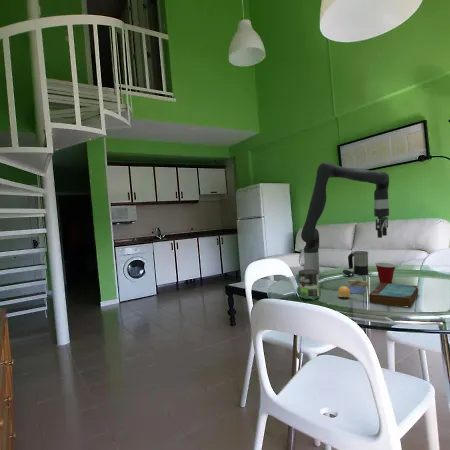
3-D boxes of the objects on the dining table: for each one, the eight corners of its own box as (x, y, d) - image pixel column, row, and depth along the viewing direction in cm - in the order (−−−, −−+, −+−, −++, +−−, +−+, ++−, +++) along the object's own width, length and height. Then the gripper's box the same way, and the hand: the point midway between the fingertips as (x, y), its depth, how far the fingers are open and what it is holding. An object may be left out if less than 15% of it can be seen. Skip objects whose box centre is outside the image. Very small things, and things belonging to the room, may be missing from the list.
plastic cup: (399, 286, 180) (398, 265, 180) (378, 287, 183) (377, 266, 182) (393, 281, 191) (392, 261, 190) (373, 282, 193) (373, 262, 192)
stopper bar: (348, 284, 192) (348, 280, 191) (349, 283, 193) (349, 279, 193) (366, 286, 186) (366, 282, 186) (367, 285, 187) (366, 281, 187)
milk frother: (371, 273, 214) (370, 251, 213) (363, 278, 202) (362, 255, 201) (349, 271, 223) (348, 250, 222) (340, 276, 212) (339, 254, 210)
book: (381, 291, 176) (380, 282, 176) (418, 295, 165) (418, 285, 165) (369, 303, 159) (368, 293, 158) (410, 309, 148) (409, 298, 147)
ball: (336, 298, 168) (336, 287, 168) (340, 295, 173) (339, 284, 172) (348, 300, 164) (348, 288, 164) (352, 296, 169) (351, 285, 169)
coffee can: (311, 301, 166) (310, 274, 165) (295, 297, 174) (294, 271, 173) (323, 296, 172) (322, 270, 171) (308, 293, 181) (306, 268, 180)
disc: (335, 292, 179) (335, 291, 179) (343, 285, 190) (343, 285, 190) (362, 294, 171) (362, 294, 171) (368, 288, 182) (368, 287, 182)
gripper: (378, 207, 189) (379, 234, 190) (370, 208, 178) (371, 238, 179) (392, 206, 184) (393, 235, 185) (384, 208, 173) (385, 238, 174)
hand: (382, 236), depth 182 cm, fingers open, 8 cm apart
